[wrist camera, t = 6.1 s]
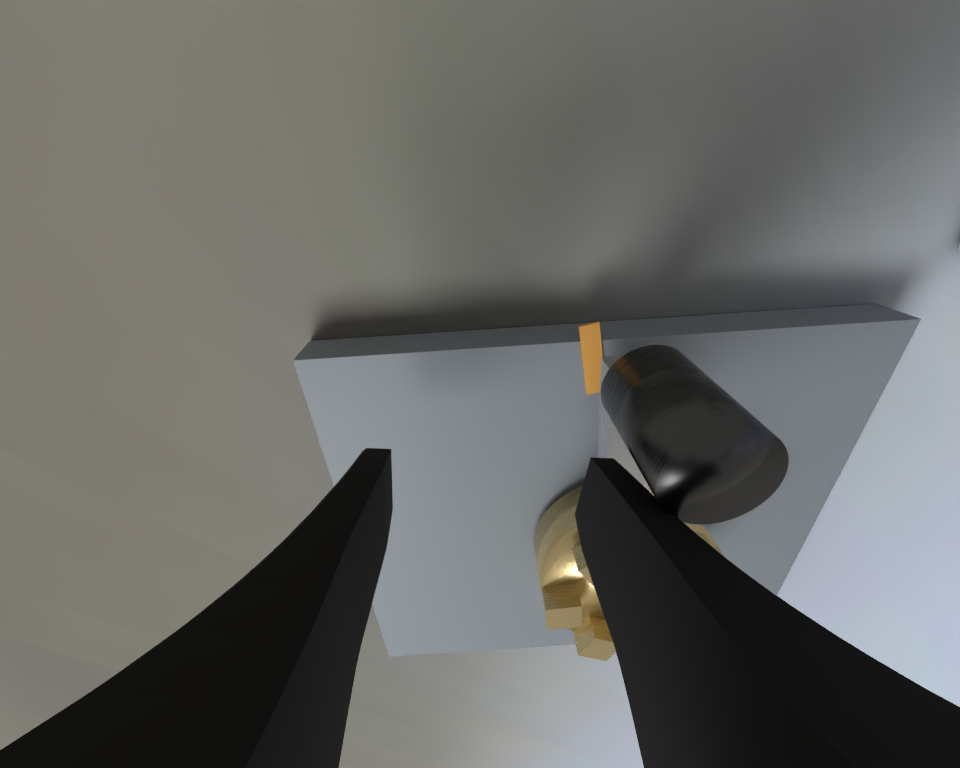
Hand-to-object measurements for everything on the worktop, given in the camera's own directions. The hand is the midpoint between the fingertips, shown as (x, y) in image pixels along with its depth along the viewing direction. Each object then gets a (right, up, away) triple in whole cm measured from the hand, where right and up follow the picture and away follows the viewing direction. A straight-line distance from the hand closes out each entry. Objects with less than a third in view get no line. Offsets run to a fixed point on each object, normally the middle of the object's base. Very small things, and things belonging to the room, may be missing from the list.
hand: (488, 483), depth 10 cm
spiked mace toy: (+5, -1, +4) cm, 6 cm away
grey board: (+4, -3, +7) cm, 9 cm away
